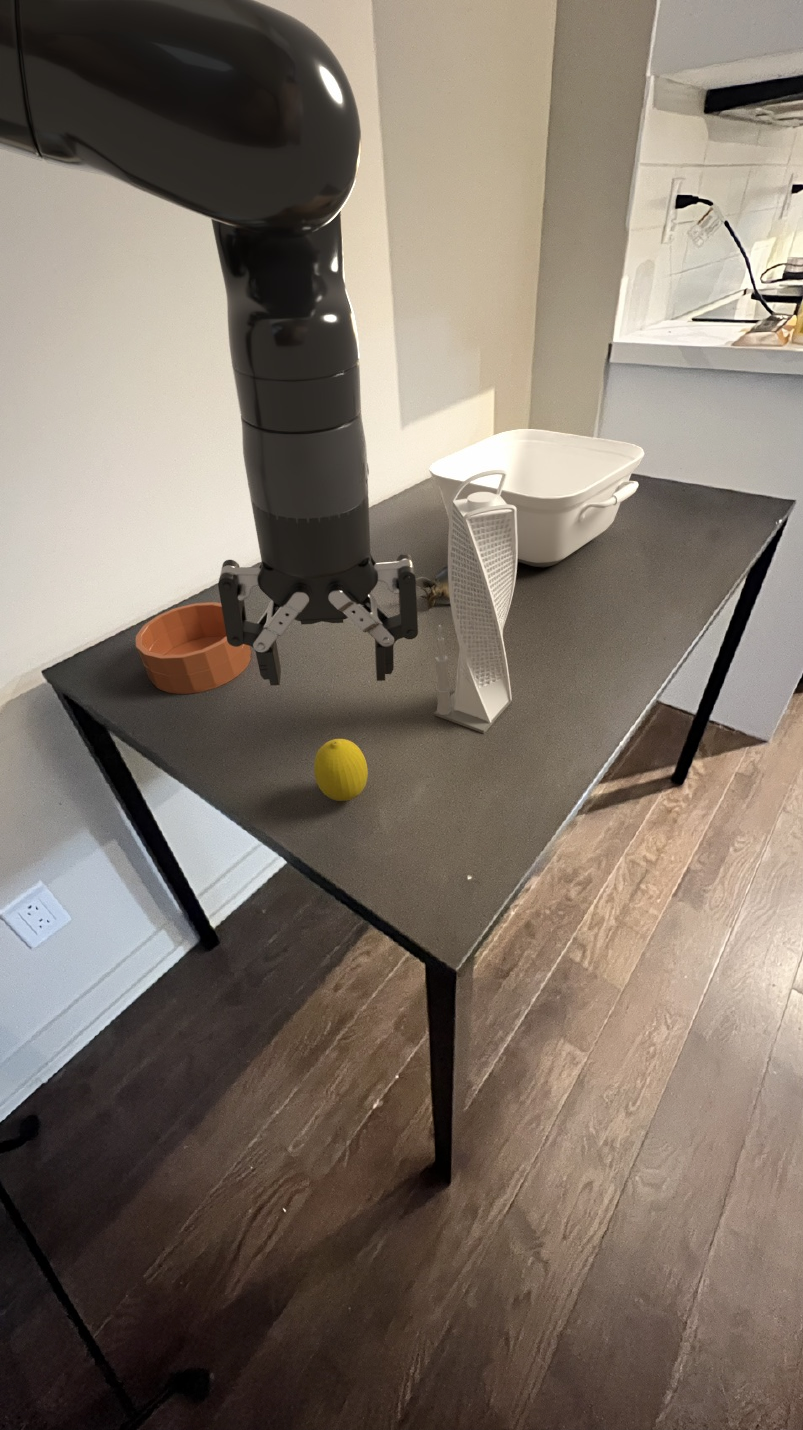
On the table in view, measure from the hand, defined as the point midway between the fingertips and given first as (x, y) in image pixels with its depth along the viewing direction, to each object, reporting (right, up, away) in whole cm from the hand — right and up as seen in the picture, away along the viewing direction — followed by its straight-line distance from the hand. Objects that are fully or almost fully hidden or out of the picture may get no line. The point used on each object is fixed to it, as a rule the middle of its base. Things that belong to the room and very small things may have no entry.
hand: (328, 676), depth 51 cm
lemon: (0, -12, +17) cm, 21 cm away
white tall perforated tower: (+16, -2, +27) cm, 31 cm away
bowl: (-23, +4, +40) cm, 46 cm away
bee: (+13, +15, +48) cm, 52 cm away
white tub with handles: (+30, +28, +62) cm, 74 cm away
